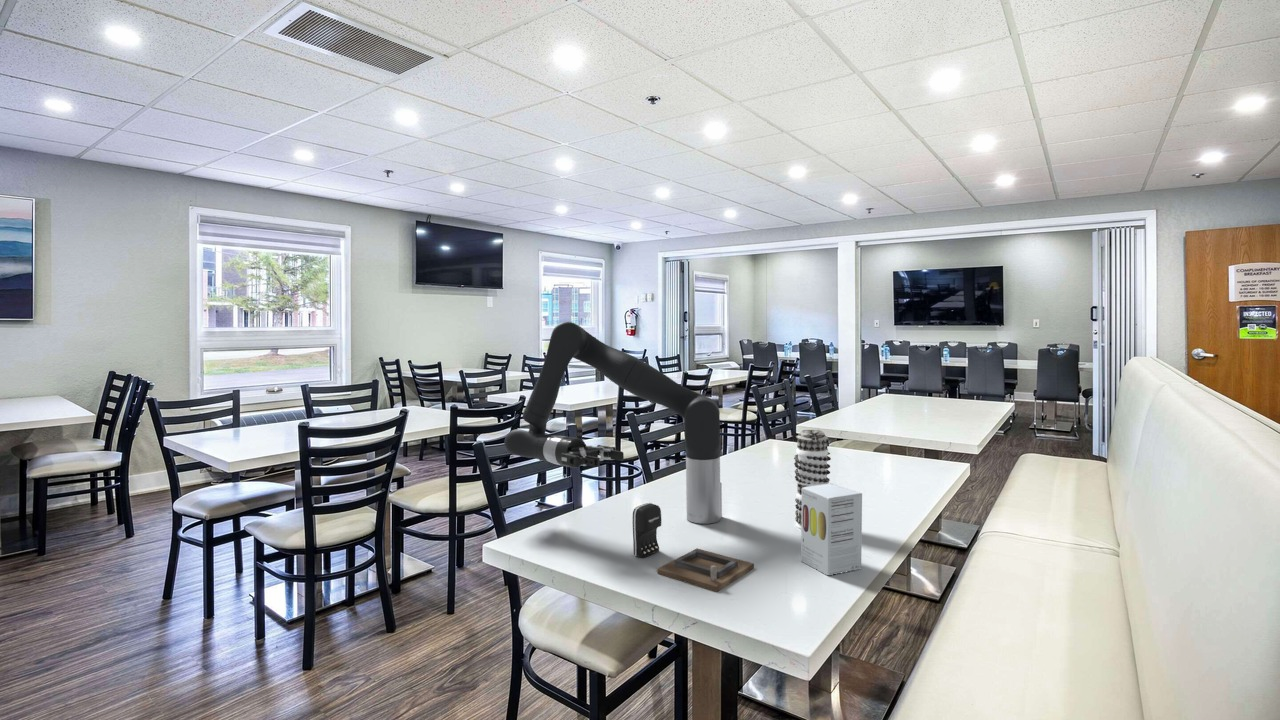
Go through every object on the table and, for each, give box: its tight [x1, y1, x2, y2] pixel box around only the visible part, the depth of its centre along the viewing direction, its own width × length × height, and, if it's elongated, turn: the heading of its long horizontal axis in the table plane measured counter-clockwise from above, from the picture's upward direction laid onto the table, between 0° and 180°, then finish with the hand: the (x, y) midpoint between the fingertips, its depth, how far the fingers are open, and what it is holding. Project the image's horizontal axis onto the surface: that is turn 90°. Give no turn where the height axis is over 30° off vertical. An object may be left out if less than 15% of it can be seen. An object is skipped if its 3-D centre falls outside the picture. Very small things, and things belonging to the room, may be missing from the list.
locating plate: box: [656, 548, 755, 593], centre depth 132 cm, size 15×15×4 cm
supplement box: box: [800, 482, 863, 576], centre depth 134 cm, size 10×9×17 cm
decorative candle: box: [793, 429, 832, 530], centre depth 159 cm, size 9×9×25 cm
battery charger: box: [632, 502, 662, 558], centre depth 142 cm, size 7×4×11 cm, turn 139°
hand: (611, 459), depth 148 cm, fingers open, 8 cm apart
